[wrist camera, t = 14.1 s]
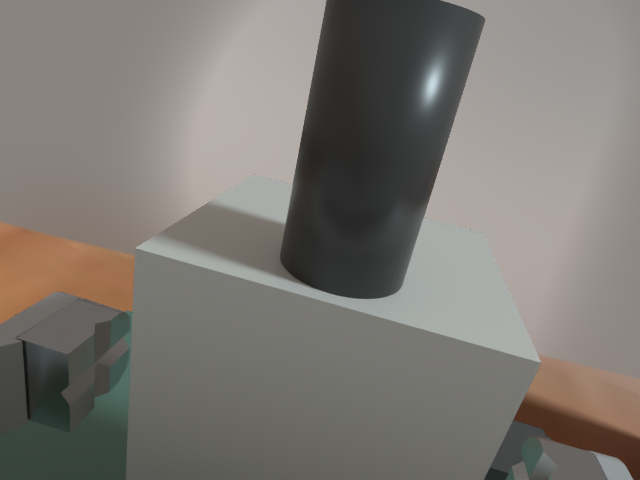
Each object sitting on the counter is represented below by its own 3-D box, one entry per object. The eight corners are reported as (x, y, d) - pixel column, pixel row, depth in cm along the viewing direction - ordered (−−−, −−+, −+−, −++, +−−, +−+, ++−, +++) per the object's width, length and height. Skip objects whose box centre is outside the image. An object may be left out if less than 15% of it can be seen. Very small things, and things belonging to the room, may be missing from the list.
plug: (350, 588, 12) (547, 61, 7) (323, 807, 9) (697, 46, 3) (200, 535, 13) (278, 4, 7) (115, 721, 9) (148, -64, 4)
